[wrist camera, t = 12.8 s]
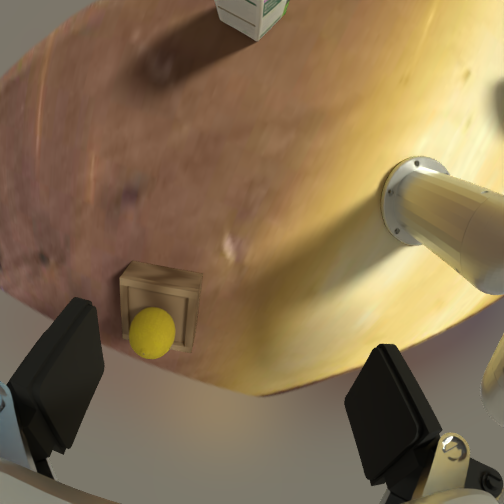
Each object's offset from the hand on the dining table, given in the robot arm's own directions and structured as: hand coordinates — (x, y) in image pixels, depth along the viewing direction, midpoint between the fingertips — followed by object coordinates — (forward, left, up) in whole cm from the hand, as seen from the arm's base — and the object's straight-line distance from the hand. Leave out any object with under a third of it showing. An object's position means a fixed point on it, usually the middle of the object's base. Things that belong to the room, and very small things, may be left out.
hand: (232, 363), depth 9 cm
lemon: (+8, +17, -24) cm, 31 cm away
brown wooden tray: (+8, +17, -28) cm, 34 cm away
